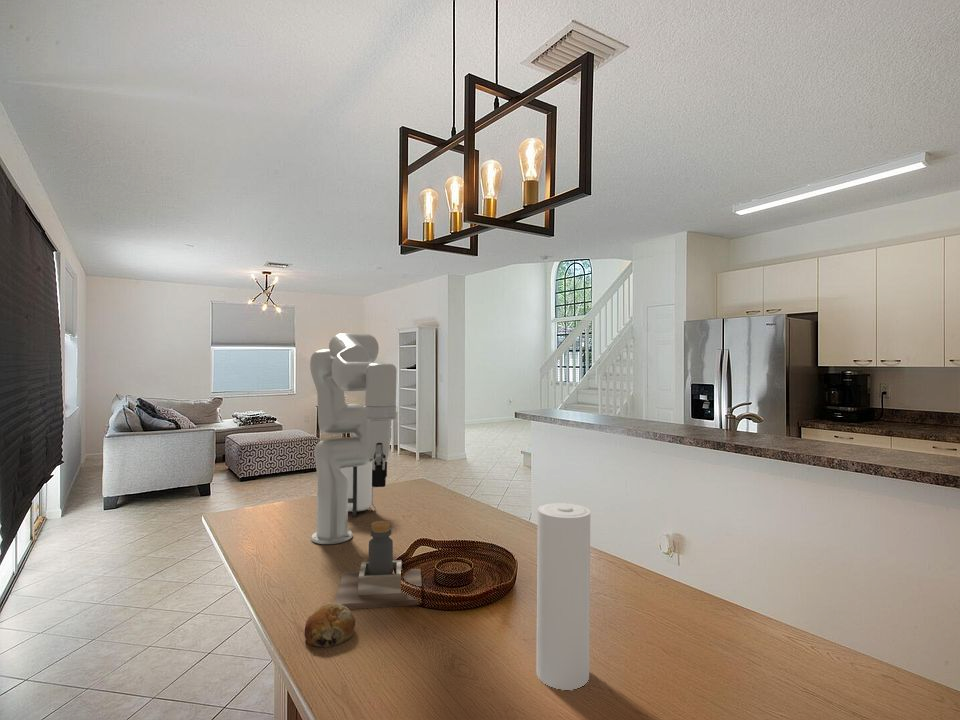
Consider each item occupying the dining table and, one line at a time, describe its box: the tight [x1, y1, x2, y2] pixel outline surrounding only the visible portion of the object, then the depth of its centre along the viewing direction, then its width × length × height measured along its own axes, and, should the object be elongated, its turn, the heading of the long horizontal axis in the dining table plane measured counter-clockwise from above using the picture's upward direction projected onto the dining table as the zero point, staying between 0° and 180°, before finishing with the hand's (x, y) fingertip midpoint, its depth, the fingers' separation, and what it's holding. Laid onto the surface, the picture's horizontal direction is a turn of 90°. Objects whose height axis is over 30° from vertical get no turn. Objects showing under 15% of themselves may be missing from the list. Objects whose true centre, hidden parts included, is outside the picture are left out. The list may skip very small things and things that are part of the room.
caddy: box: [333, 559, 423, 610], centre depth 126 cm, size 18×20×5 cm
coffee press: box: [340, 459, 376, 518], centre depth 191 cm, size 17×16×30 cm
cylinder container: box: [535, 502, 591, 691], centre depth 92 cm, size 9×9×30 cm
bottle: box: [368, 520, 394, 576], centre depth 126 cm, size 6×6×15 cm
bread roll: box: [304, 602, 356, 648], centre depth 105 cm, size 10×10×8 cm
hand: (379, 481), depth 127 cm, fingers open, 9 cm apart
